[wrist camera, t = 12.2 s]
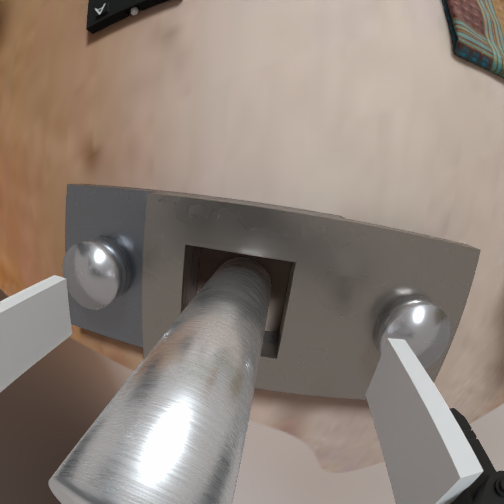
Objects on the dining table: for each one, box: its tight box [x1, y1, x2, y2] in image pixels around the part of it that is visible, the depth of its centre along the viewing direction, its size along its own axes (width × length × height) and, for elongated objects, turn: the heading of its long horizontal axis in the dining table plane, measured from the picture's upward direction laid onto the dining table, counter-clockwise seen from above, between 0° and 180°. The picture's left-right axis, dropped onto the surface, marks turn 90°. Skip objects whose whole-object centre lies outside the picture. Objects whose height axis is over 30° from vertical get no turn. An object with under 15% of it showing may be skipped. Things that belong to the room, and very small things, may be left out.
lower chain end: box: [63, 184, 345, 348], centre depth 16 cm, size 17×10×4 cm, turn 82°
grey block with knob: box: [142, 192, 480, 400], centre depth 15 cm, size 18×10×4 cm, turn 82°
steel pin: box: [49, 257, 271, 504], centre depth 10 cm, size 4×4×15 cm
